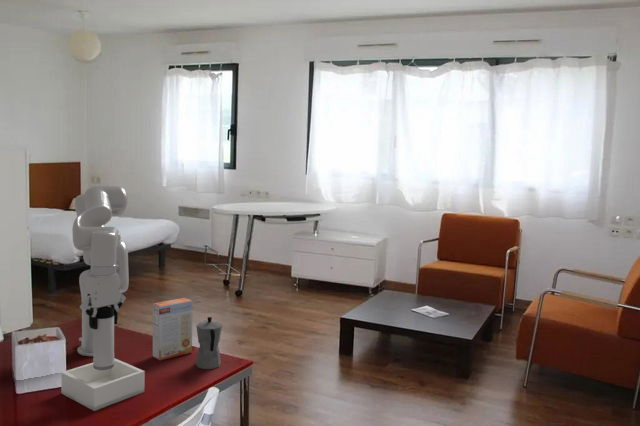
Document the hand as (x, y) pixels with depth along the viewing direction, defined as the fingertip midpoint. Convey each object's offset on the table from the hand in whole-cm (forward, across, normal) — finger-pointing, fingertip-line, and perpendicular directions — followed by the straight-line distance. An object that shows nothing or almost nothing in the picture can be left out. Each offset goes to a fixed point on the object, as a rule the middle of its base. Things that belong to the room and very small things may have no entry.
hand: (103, 325), depth 183 cm
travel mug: (+14, 0, 0) cm, 14 cm away
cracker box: (+23, -36, -10) cm, 44 cm away
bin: (+22, 0, 0) cm, 22 cm away
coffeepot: (+23, -38, +8) cm, 45 cm away
